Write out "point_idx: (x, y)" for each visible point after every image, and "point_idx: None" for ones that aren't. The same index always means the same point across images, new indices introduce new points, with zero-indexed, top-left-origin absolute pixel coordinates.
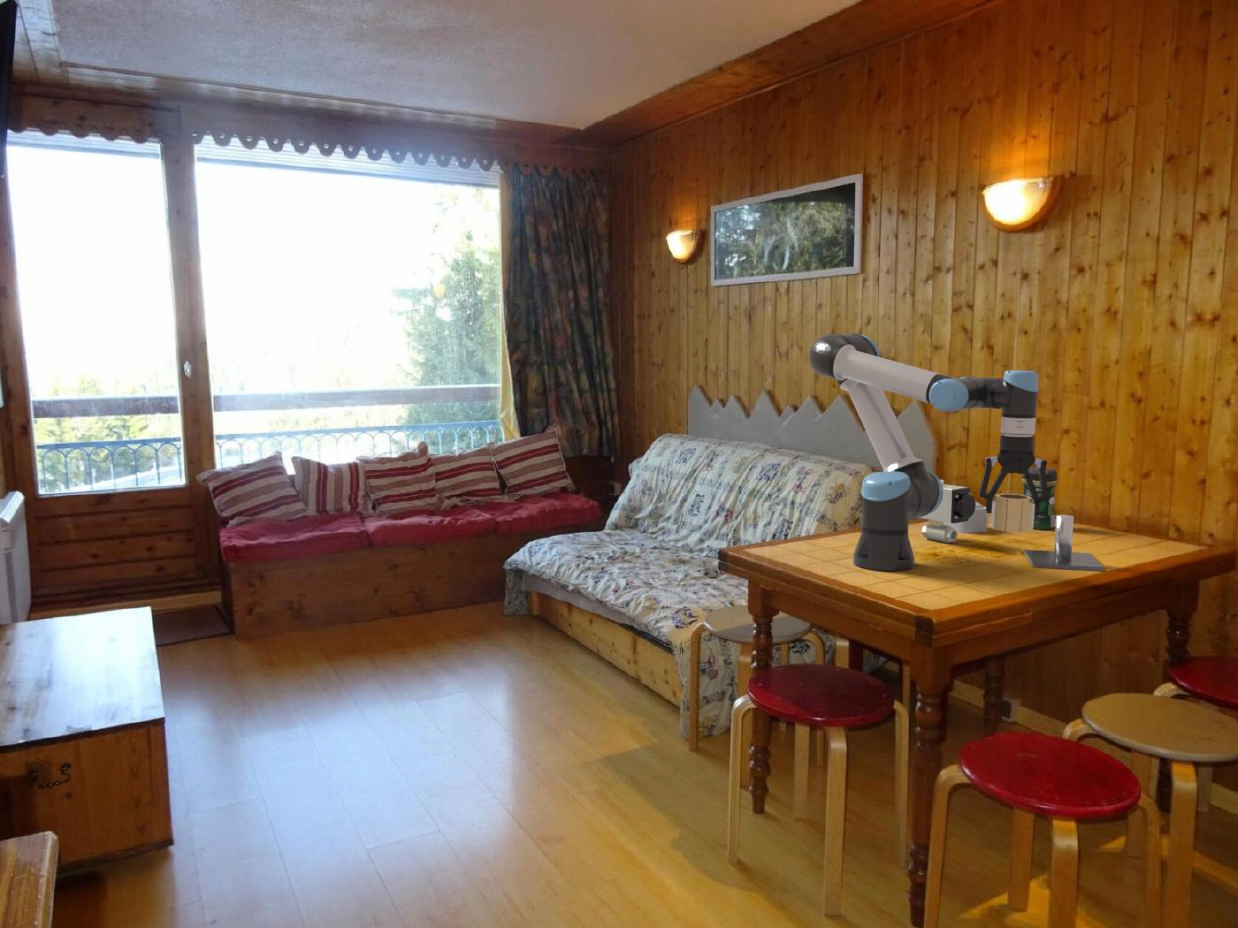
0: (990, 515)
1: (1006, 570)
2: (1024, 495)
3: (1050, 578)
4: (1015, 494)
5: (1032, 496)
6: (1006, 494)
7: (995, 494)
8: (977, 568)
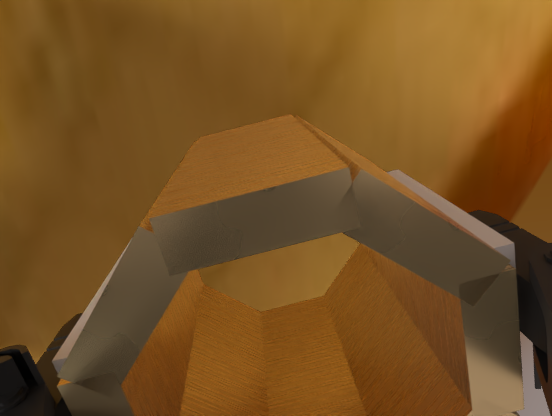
0: (112, 271)
1: (246, 115)
2: (439, 234)
3: (410, 167)
4: (312, 214)
5: (543, 309)
6: (190, 266)
7: (60, 372)
8: (135, 138)
